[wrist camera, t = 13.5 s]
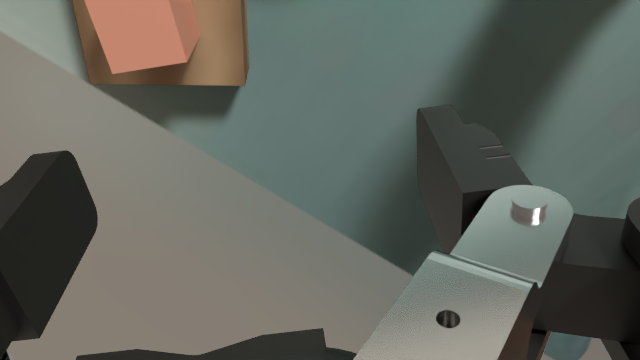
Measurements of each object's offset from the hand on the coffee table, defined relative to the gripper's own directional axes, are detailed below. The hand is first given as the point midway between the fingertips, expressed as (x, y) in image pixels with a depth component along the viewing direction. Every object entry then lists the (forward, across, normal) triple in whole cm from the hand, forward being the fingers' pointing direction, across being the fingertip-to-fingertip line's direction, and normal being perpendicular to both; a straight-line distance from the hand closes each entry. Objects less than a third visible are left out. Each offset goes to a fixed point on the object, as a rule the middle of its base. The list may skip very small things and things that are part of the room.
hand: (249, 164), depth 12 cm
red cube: (+28, +9, +2) cm, 30 cm away
